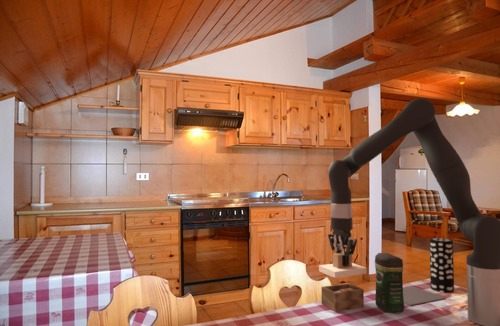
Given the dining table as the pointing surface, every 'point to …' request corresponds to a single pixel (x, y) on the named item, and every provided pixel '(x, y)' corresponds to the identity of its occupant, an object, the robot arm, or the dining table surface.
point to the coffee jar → (389, 283)
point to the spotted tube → (441, 265)
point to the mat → (418, 296)
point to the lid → (342, 267)
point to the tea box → (342, 297)
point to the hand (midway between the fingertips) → (342, 264)
